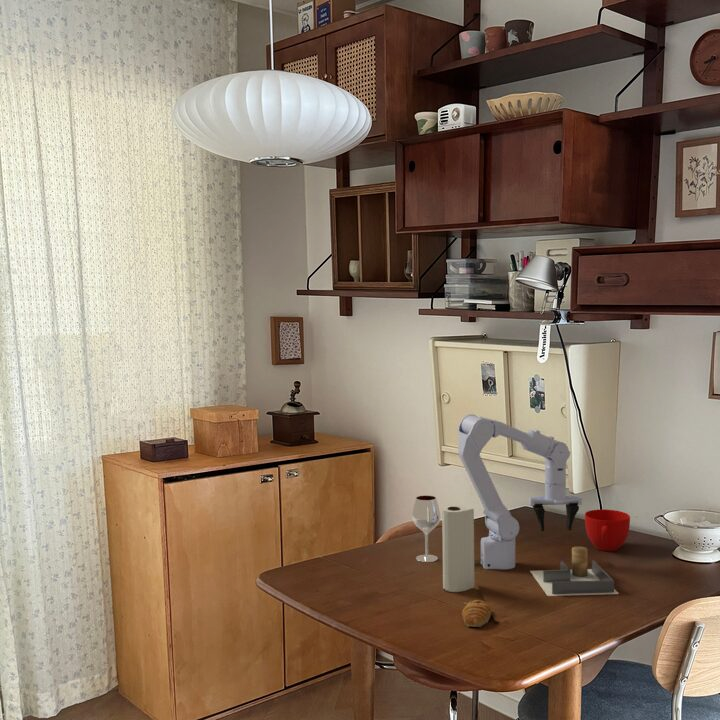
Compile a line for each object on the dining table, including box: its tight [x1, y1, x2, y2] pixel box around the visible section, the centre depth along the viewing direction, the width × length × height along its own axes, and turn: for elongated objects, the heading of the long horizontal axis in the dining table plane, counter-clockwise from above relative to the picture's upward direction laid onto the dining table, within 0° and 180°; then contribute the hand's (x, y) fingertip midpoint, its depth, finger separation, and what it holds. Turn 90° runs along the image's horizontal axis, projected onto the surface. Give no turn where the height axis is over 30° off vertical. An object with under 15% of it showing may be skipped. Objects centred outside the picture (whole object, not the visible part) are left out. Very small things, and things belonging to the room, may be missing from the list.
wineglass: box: [411, 495, 441, 563], centre depth 235 cm, size 8×8×18 cm
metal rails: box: [542, 559, 615, 594], centre depth 212 cm, size 16×16×3 cm
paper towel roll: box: [441, 505, 475, 593], centre depth 210 cm, size 7×6×21 cm
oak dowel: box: [571, 546, 589, 577], centre depth 217 cm, size 4×4×7 cm
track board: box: [529, 568, 620, 597], centre depth 212 cm, size 18×18×1 cm
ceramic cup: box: [584, 508, 631, 552], centre depth 241 cm, size 13×17×10 cm
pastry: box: [461, 599, 492, 628], centre depth 191 cm, size 9×7×4 cm
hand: (555, 529), depth 230 cm, fingers open, 7 cm apart
